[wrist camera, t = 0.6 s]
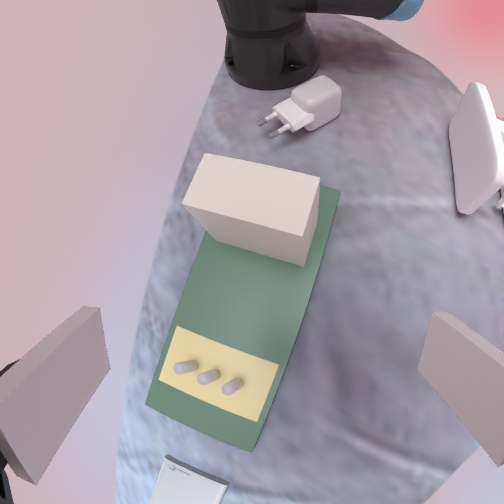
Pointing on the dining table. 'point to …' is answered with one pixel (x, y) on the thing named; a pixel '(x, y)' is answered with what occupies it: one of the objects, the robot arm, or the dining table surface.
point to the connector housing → (255, 206)
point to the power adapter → (307, 106)
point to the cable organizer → (477, 150)
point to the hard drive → (186, 485)
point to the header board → (235, 335)
